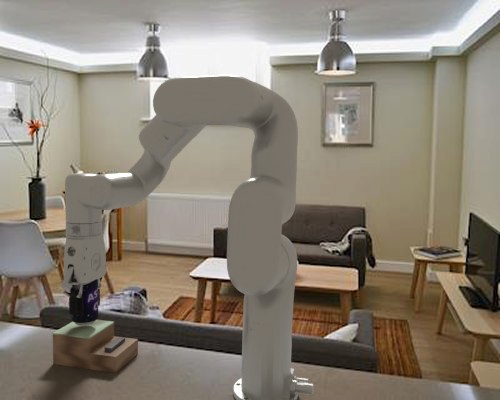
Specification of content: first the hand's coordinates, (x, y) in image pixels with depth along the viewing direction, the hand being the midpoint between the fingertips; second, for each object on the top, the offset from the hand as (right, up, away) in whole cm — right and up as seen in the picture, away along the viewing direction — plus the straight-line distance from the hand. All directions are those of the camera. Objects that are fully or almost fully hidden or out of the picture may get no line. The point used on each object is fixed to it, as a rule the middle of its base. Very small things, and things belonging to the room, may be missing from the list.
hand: (85, 309), depth 105 cm
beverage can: (0, -3, 0) cm, 3 cm away
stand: (+2, -11, 0) cm, 11 cm away
